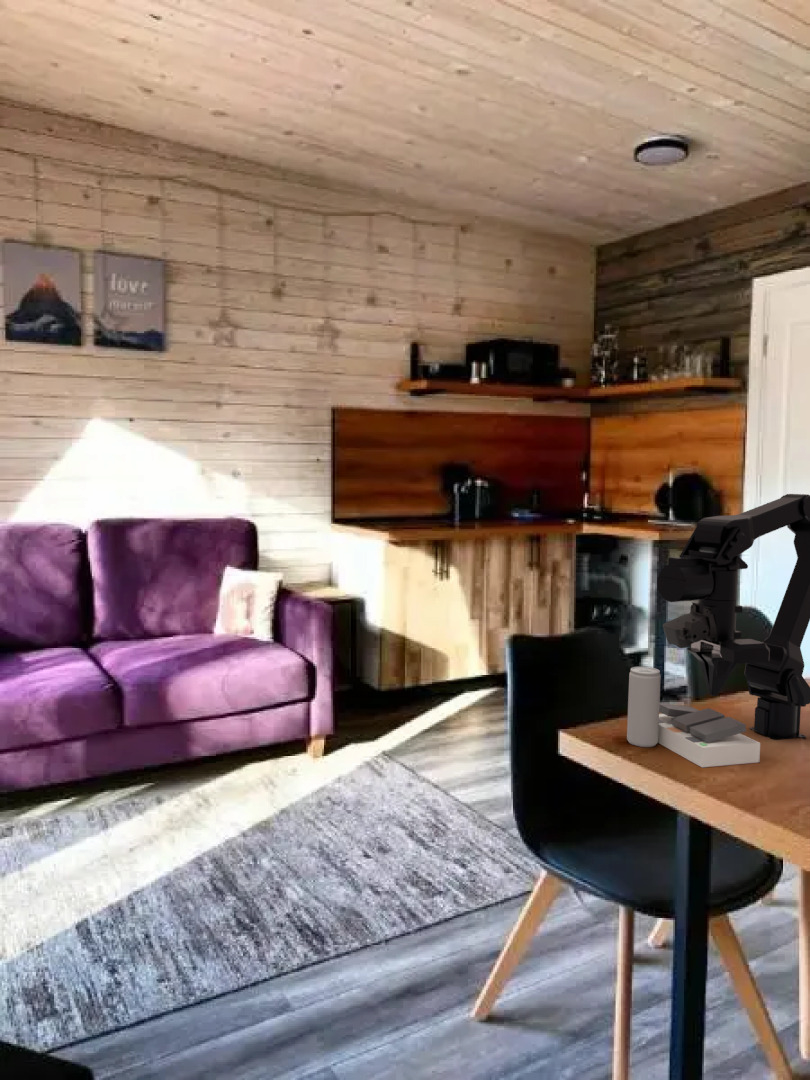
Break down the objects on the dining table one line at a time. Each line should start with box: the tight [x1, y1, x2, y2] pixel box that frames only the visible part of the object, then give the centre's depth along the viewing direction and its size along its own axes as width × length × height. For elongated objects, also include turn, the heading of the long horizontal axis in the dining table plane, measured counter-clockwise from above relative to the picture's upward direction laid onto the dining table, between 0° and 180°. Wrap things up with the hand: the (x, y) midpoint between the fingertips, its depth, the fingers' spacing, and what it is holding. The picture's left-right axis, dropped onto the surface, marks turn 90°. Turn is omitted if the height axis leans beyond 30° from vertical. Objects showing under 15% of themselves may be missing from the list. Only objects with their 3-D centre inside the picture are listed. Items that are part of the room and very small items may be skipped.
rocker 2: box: [671, 707, 726, 733], centre depth 136 cm, size 7×4×1 cm, turn 106°
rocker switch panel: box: [657, 713, 761, 768], centre depth 136 cm, size 10×17×3 cm, turn 16°
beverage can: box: [626, 666, 662, 748], centre depth 137 cm, size 5×5×12 cm
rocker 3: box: [690, 716, 747, 743], centre depth 131 cm, size 7×4×1 cm, turn 106°
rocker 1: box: [659, 702, 700, 717], centre depth 140 cm, size 7×4×1 cm, turn 106°
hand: (713, 695), depth 136 cm, fingers closed
